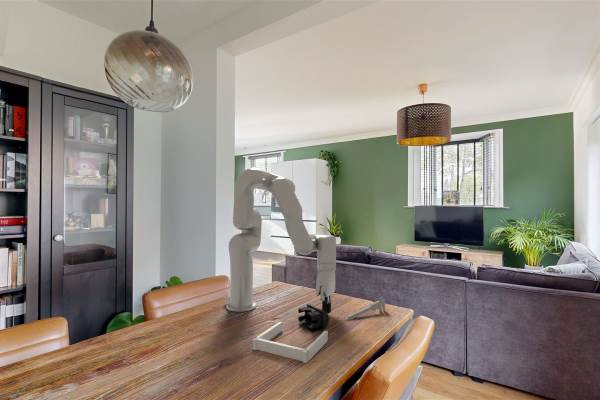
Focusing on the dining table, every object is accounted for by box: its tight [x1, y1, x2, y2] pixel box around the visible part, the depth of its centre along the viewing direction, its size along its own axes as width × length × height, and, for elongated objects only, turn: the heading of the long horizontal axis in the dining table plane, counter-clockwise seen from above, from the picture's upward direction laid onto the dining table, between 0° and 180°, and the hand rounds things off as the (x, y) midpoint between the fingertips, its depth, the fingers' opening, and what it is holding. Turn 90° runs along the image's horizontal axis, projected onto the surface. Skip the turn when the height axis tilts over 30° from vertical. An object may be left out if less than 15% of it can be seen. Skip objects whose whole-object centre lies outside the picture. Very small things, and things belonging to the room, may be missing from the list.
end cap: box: [297, 303, 330, 334], centre depth 111 cm, size 10×7×7 cm
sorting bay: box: [252, 321, 329, 364], centre depth 96 cm, size 18×16×3 cm
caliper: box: [345, 296, 386, 321], centre depth 122 cm, size 20×1×6 cm, turn 120°
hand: (326, 312), depth 122 cm, fingers closed
